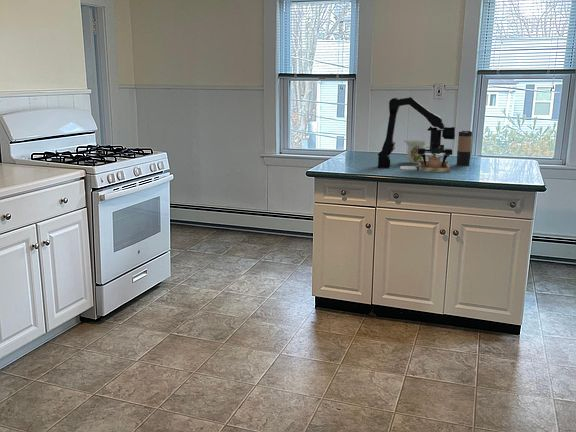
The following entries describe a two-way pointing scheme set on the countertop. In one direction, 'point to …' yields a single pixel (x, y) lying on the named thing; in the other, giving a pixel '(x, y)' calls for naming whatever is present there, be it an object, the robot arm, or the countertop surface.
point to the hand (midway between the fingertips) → (433, 166)
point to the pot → (434, 161)
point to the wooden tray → (425, 168)
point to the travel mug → (464, 148)
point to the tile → (408, 168)
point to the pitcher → (415, 150)
